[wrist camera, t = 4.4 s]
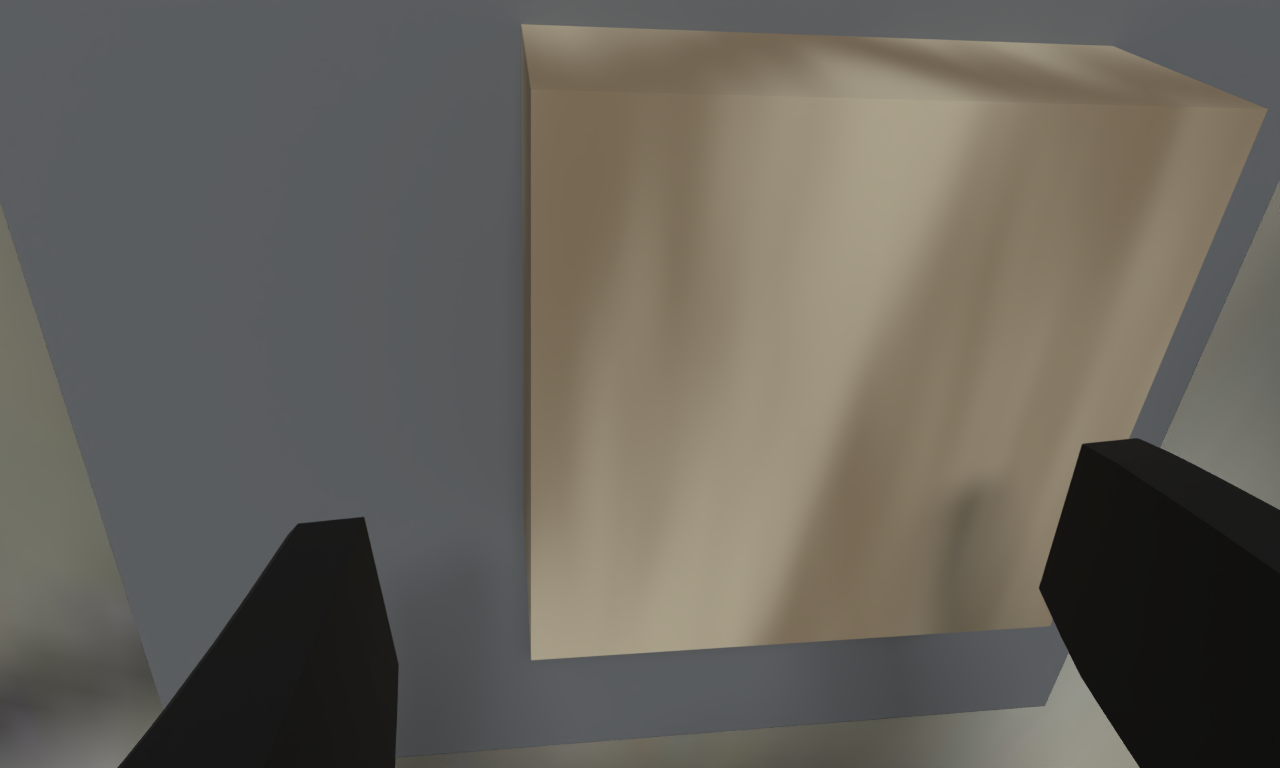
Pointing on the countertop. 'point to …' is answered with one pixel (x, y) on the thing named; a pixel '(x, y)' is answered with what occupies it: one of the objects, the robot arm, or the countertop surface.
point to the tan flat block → (836, 321)
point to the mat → (432, 327)
